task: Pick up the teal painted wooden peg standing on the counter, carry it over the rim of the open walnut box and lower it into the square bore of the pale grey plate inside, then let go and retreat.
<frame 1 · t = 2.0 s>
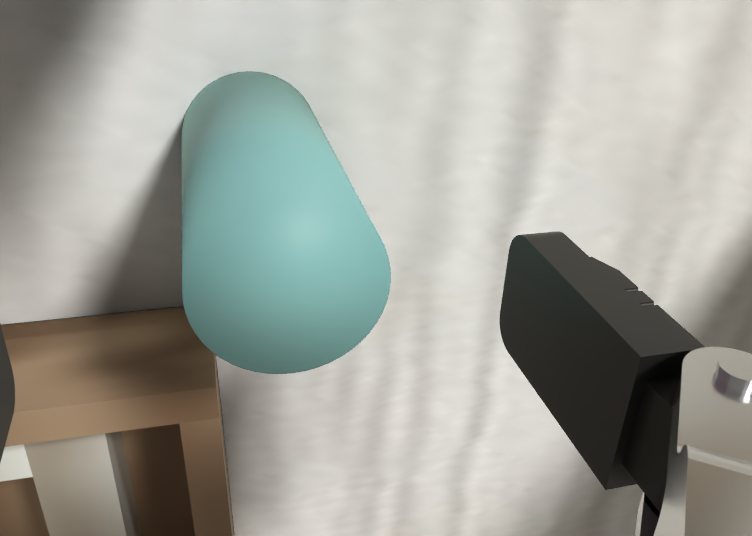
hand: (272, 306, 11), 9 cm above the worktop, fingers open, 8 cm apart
peg: (251, 139, 19), on the worktop
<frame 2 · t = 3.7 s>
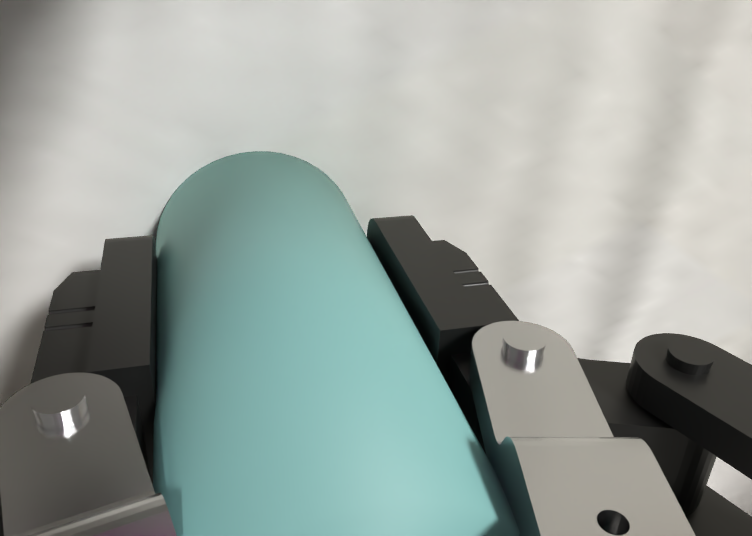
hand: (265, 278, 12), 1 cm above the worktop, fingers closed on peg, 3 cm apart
peg: (259, 245, 13), on the worktop, touching gripper
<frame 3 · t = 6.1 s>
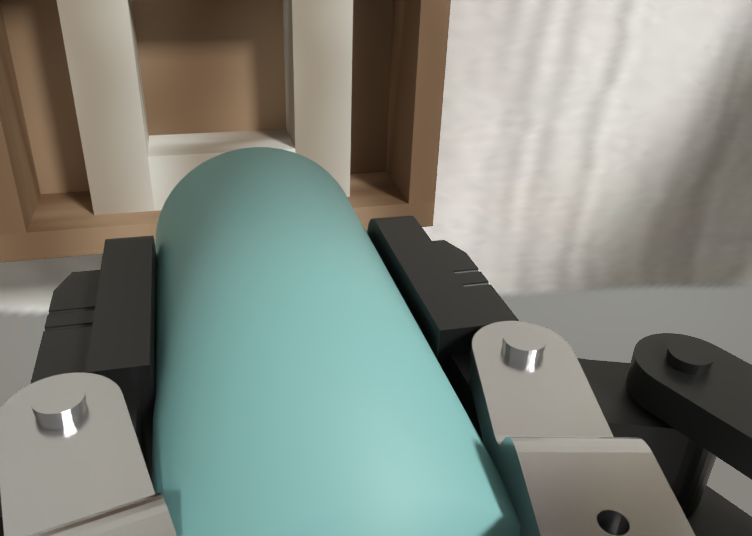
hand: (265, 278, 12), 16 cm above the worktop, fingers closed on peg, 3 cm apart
box: (212, 58, 26), on the worktop
peg: (258, 241, 13), point 15 cm above the worktop, touching gripper
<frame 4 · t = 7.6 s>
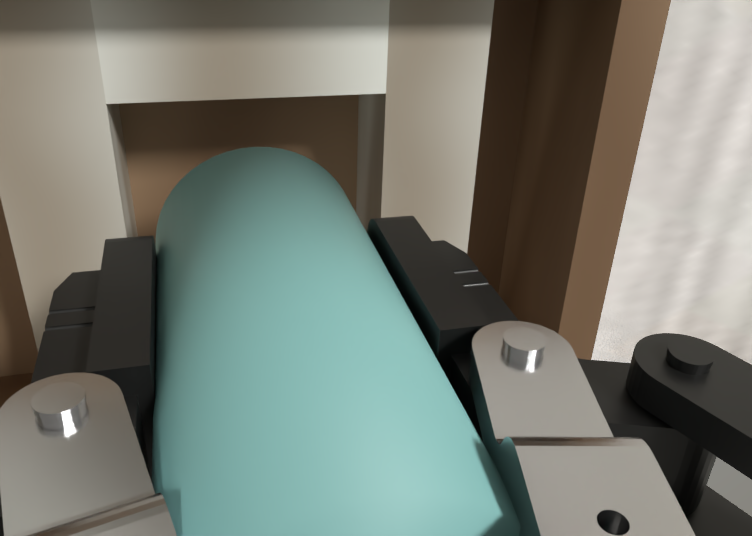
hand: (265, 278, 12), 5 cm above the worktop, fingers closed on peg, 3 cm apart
box: (244, 168, 17), on the worktop
peg: (258, 241, 13), point 4 cm above the worktop, touching gripper
when the fingers open (4 cm above the worktop, at t = 8.6 s): peg drops 2 cm, resting on box.
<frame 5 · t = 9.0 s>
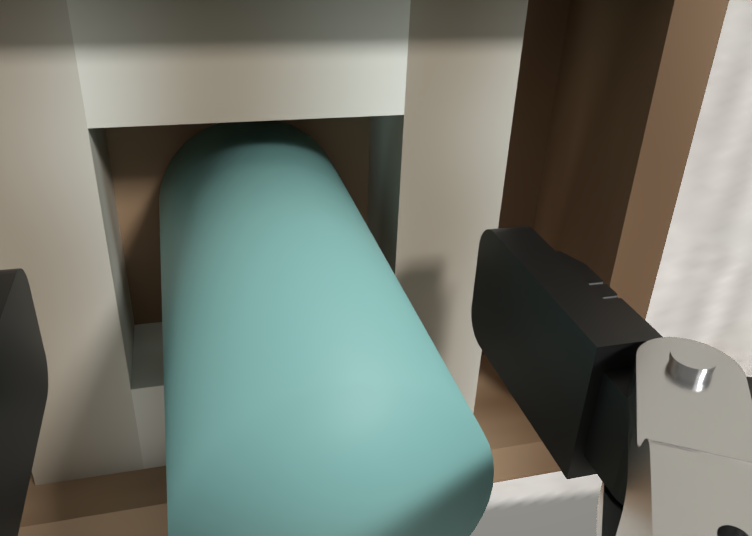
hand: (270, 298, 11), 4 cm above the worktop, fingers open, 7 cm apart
box: (244, 192, 15), on the worktop
peg: (252, 203, 14), point 1 cm above the worktop, touching box
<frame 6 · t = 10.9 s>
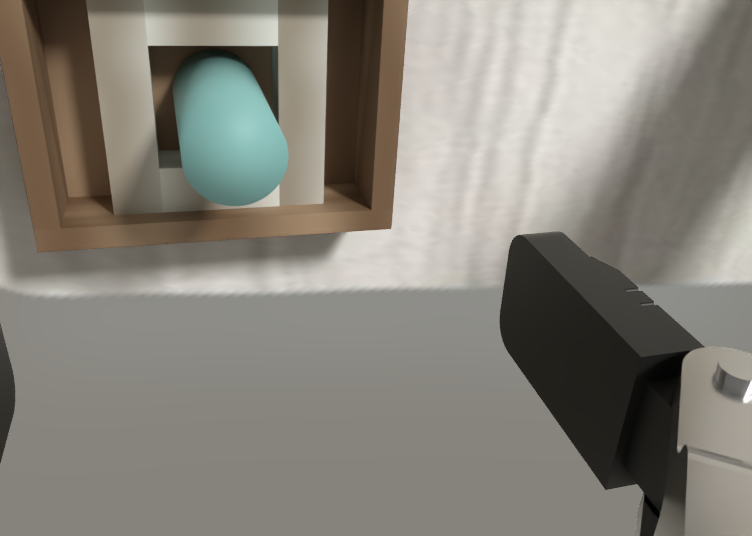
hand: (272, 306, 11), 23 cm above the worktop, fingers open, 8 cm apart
box: (212, 88, 32), on the worktop
peg: (215, 91, 31), point 1 cm above the worktop, touching box
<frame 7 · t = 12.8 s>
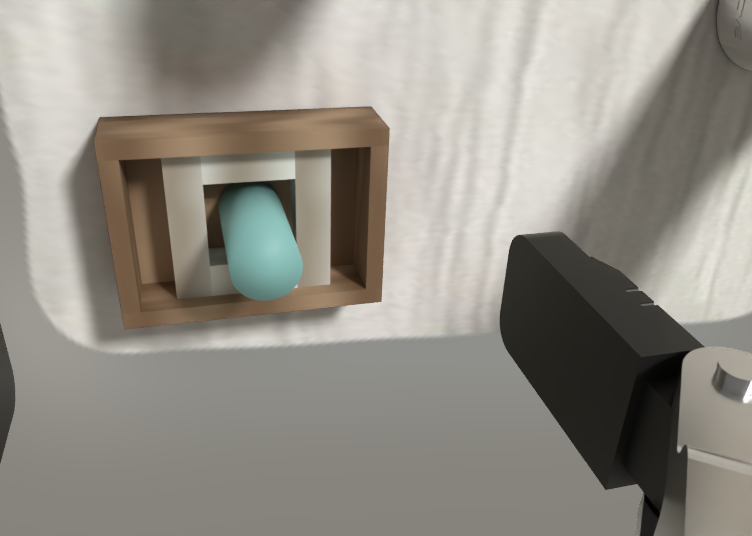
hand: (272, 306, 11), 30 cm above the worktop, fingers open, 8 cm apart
box: (246, 201, 43), on the worktop
peg: (249, 205, 42), point 1 cm above the worktop, touching box
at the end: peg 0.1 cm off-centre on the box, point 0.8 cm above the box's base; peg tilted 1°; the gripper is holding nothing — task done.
